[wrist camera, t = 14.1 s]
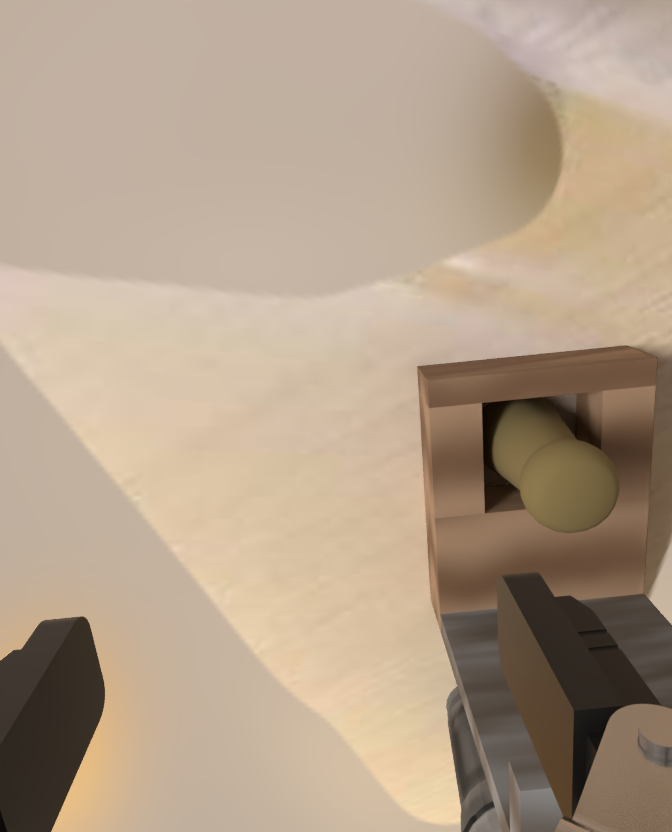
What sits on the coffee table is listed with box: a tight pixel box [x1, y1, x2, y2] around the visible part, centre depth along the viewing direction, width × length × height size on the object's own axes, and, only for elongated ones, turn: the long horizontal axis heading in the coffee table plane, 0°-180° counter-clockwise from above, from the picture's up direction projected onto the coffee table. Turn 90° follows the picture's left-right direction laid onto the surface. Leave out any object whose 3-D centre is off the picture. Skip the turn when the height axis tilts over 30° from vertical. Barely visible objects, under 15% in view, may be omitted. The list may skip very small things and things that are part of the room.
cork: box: [482, 397, 619, 533], centre depth 38 cm, size 6×6×11 cm
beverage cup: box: [446, 687, 502, 832], centre depth 40 cm, size 7×7×20 cm
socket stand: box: [417, 346, 672, 832], centre depth 34 cm, size 18×14×22 cm
